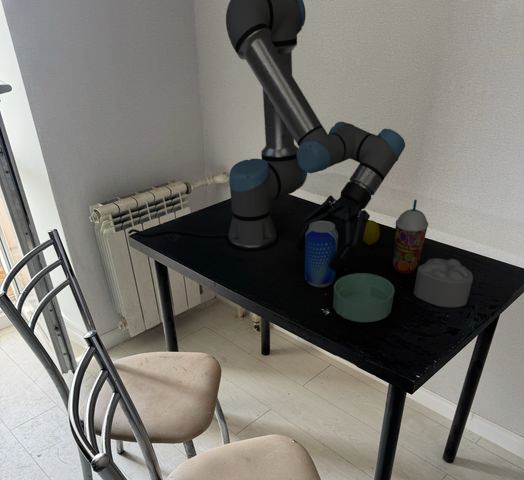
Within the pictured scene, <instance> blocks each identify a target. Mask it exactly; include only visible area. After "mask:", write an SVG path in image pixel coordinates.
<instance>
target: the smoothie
mask: <svg viewBox="0 0 524 480" xmlns="http://www.w3.org/2000/svg"><path fill="white" fill-rule="evenodd" d="M417 200H418V199H414V200H413V205H412V208H410V209H407V210H405V211H404V212H402V213H401V214H399V216H398V218H397V219H396V220H395V227H394V242H393V256H392V257H393V258H392V266H393V268H394V270H395V272H398V273H400V274H404V275H405V274H406V275H408V274H413V273H414V272H415V271H416V269H418V267H419V263H420V259H421V255H422V251H423V246H424V242H425V239H426V234H427V230H428V227H429V222H428V220H427V218H426V215H425V214H424V212H422V211H421V210H419V209H416V208H417V202H418V201H417Z"/></svg>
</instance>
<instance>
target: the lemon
mask: <svg viewBox="0 0 524 480" xmlns="http://www.w3.org/2000/svg"><path fill="white" fill-rule="evenodd" d="M380 235H381V228H380V226H379V223H378V222H376V221H374V220H373V219H370V220H368V221H367V223H366V227H365V232H364V237H363V241H362V242H364V243H365V244H366V245H368V246H371V245H374V244H375V243H377V241H378V240H379V238H380Z"/></svg>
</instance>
